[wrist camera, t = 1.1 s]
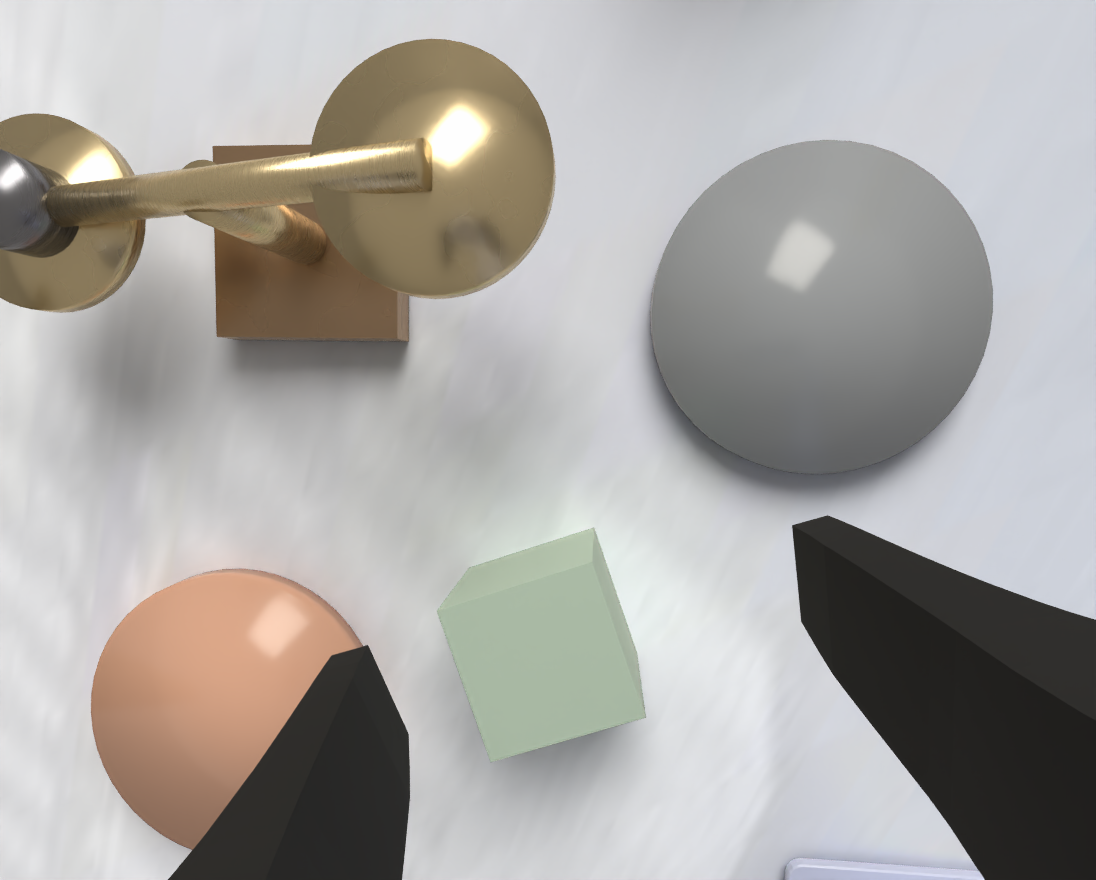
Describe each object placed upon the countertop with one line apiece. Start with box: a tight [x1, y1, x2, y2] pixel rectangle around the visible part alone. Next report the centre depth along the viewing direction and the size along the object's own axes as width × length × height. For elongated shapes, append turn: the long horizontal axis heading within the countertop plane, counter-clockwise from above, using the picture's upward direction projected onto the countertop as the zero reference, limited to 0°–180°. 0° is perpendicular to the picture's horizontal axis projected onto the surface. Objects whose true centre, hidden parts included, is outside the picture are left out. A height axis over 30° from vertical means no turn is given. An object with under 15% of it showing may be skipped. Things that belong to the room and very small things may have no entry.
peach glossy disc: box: [91, 569, 363, 850], centre depth 23 cm, size 10×10×1 cm
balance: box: [0, 39, 556, 342], centre depth 17 cm, size 6×17×8 cm, turn 89°
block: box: [437, 528, 646, 762], centre depth 20 cm, size 4×4×4 cm
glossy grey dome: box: [650, 140, 993, 474], centre depth 20 cm, size 10×10×1 cm
